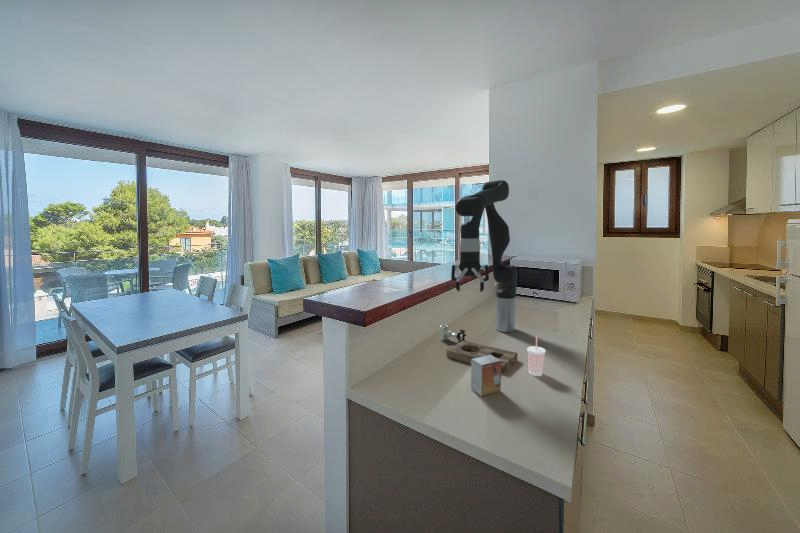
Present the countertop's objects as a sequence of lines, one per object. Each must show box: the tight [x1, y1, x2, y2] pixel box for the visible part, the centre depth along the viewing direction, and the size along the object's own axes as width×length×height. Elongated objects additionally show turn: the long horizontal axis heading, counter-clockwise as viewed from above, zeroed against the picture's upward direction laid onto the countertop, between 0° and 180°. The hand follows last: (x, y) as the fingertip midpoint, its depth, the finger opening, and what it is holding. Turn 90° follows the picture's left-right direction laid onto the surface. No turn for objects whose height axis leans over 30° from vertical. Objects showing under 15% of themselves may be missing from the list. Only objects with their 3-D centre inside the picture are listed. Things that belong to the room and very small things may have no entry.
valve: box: [439, 324, 467, 344], centre depth 149 cm, size 7×7×12 cm
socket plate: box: [446, 339, 519, 374], centre depth 128 cm, size 14×24×3 cm, turn 50°
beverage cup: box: [526, 335, 546, 377], centre depth 114 cm, size 6×6×14 cm
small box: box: [470, 355, 502, 397], centre depth 104 cm, size 8×6×10 cm
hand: (469, 291), depth 125 cm, fingers open, 8 cm apart
